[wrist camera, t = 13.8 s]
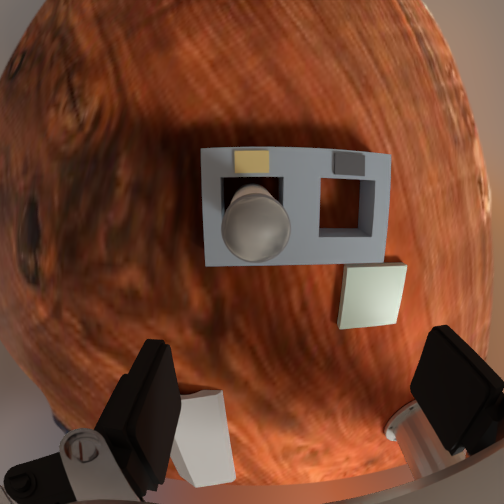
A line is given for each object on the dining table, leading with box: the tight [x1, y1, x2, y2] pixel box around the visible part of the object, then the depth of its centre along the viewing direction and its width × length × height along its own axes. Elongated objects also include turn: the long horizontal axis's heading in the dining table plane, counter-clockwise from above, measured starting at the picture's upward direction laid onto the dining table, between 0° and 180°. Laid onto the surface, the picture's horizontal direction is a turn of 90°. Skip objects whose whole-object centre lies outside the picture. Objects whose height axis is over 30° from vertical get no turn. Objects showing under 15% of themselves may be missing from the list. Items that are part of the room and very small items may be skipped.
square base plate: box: [337, 262, 407, 329], centre depth 33 cm, size 8×8×1 cm
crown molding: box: [170, 390, 236, 487], centre depth 40 cm, size 29×12×4 cm, turn 2°
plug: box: [221, 183, 291, 263], centre depth 23 cm, size 4×4×13 cm
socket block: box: [201, 147, 391, 266], centre depth 28 cm, size 18×11×4 cm, turn 91°
